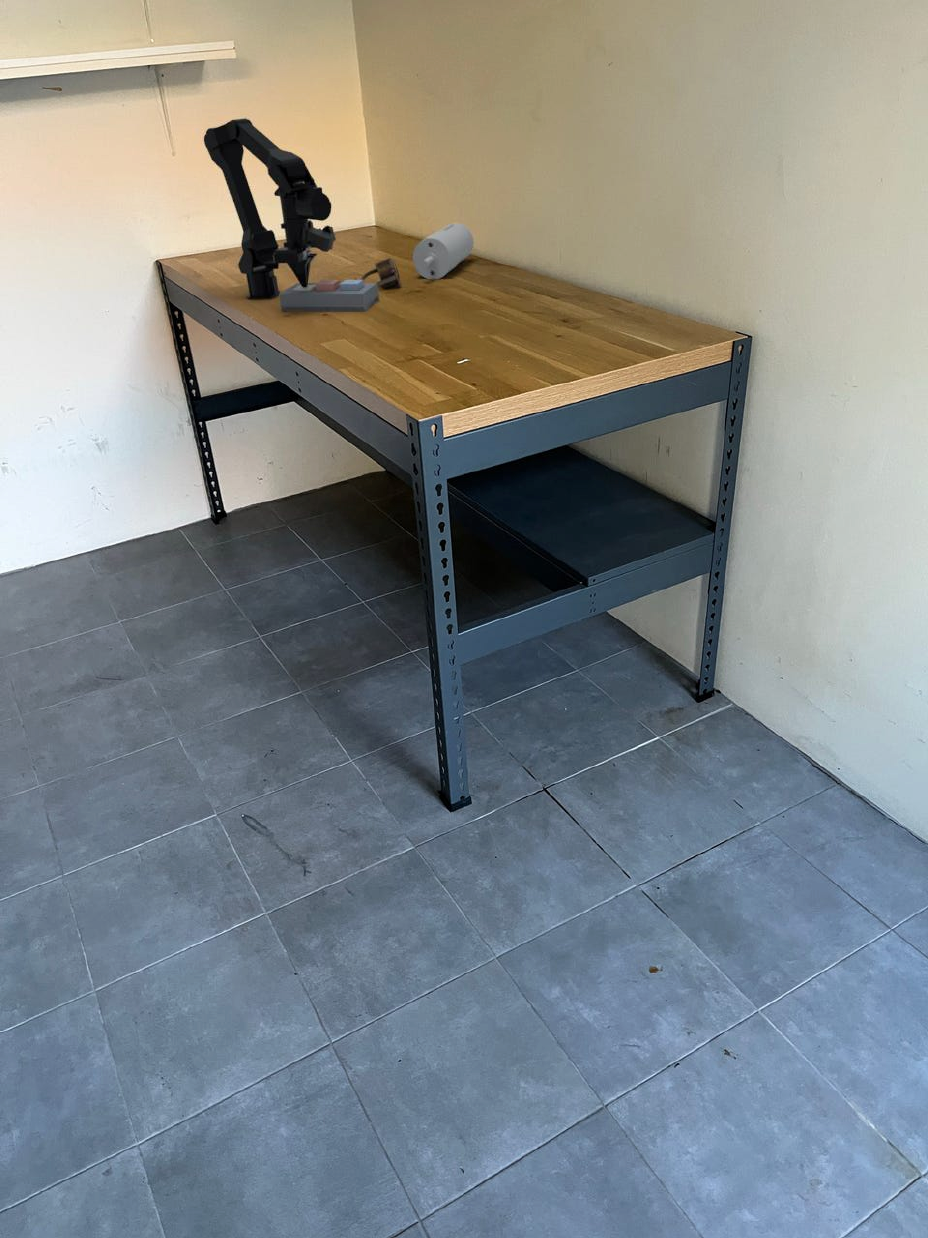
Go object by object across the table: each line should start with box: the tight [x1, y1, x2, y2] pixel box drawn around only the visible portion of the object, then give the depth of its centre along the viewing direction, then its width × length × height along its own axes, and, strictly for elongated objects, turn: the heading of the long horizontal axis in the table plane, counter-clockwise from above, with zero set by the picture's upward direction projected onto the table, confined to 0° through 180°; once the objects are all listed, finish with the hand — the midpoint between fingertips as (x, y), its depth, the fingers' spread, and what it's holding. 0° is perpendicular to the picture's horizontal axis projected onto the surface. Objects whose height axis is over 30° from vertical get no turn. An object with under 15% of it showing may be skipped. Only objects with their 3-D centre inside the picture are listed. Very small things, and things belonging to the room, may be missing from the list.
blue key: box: [340, 279, 365, 291], centre depth 223 cm, size 4×4×3 cm
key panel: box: [278, 282, 380, 313], centre depth 225 cm, size 21×11×4 cm, turn 77°
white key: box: [293, 285, 316, 291], centre depth 226 cm, size 4×4×3 cm
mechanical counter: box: [353, 257, 402, 289], centre depth 238 cm, size 7×13×10 cm
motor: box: [412, 222, 474, 280], centre depth 250 cm, size 30×10×10 cm, turn 164°
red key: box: [316, 279, 341, 291], centre depth 224 cm, size 4×4×3 cm
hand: (304, 286), depth 225 cm, fingers closed, pressing on white key
